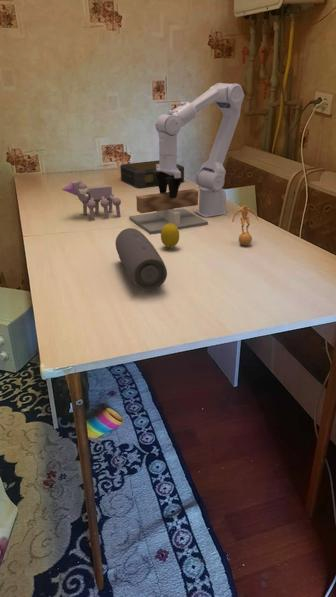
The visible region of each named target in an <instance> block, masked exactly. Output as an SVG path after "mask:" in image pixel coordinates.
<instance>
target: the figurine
mask: <svg viewBox="0 0 336 597" xmlns="http://www.w3.org/2000/svg"><path fill="white" fill-rule="evenodd" d="M249 212H251V213H253V215H254V216H255V218H256V220H257V221H259V217H258V215H257V213H256V211H255V210H254V209H251V208H250V207H248V205H246V204H245V205H242V206H241V207H240V208H239V209H237V210H235V211H234V212H233V216H232V219H231V222H232V223H235V222H234V221H235V217H236V214H237V213H241V217H240V222H241V223H240V224H241V233H240V234H239V237H238V242H239V244H240V245H242V246H243V247H244V246H249V245H250V244H251V243H252V241H253V237H252V235H251V233H250V232H249V229H248V228H249V226H250V225H251V222H250V217H249V216H248V214H249ZM245 223H246V224H247V225H246V227H245ZM244 227H245V229H246V232H245V229H244Z"/></svg>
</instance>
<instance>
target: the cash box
mask: <svg viewBox="0 0 336 597" xmlns="http://www.w3.org/2000/svg"><path fill="white" fill-rule="evenodd" d="M156 164H159V160H150V161H141V162H132V163H123V164H121V165H119V166H120V180H121V182H124V183H126V184H127V185H130V186H133V187H134V188H137V189H145V188H152V187H153V188H154V187H159V186H158V183H157V180H156V177H155V176H154V172H157V171H156ZM177 168H178V170H179V171H180V172H181V177H183V180H182V182H181V184H182V183H184V182H185V167H184V166H183V165H180V164H178V163H177ZM169 177H171V175H169ZM167 186H168V183H167Z"/></svg>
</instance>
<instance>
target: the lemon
mask: <svg viewBox="0 0 336 597" xmlns="http://www.w3.org/2000/svg"><path fill="white" fill-rule="evenodd" d="M179 230H180V229H179ZM179 230H178V228H177V226H175V225H174V224H172V223H169V224H166V225H165V226H164V227H163V228H162V231H161V233H160V241H161V243H162V244H163V245H164V246H165V247H167V248H168V249H172V248H173V247H175V246H177V244H178V243H179V240H180V231H179Z"/></svg>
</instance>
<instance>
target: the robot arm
mask: <svg viewBox="0 0 336 597" xmlns="http://www.w3.org/2000/svg"><path fill="white" fill-rule="evenodd" d="M244 97H245V92H244V90H243V87H242V86H241V84H239V83H222V82H217V83H215V84H214V85H211V86H210V88H209V89H208V90H207V91H205V92H203V93H202V94H201V95H199V96H198V97H197V98H195V99H194V100H193V101H191V102H189V101H181V102H179V106H178V105H177V107H175V108H174V109H169V111H168V113H167V114H164V113H162V114H161V115H159V117H158V118H157V119H156V123H155V124H154V126H155V130H156V132H157V133H158V146H159V150H158V152H159V153H158V155H159V156H158V157H159V164H156V171H157V172H154V176H155V177H156V180H157V183H158V186H157V187H158V190H159V193H166V192H169V196H170V198H171V199H172V198H176V197H177V193H178V191H179V188H180V186H181V184H182V183H183V182H182V180H183V177H181V172H180V171H179V170H178V168H177V164H178V161H177V159H178V158H177V156H178V155H177V154H178V153H177V150H178V135H177V134H179V132H180V130H181V128H182V127H184V126H185V125H186V124H188V123H189V122H191V121H193V120H194V119H195V118H196V115H197V113H198V112H200V111H201V110H203V109H205V108H206V107H208V106H210V105H211V104H213V103H215V105H216V106H217V108H218V109H219V110H220V111H221V114H222V119H221V121H220V125H219V128H218V130H217V133H216V136H215V139H214V141H213V145H212V148H211V150H210V153H209V157H208V160H206V161H205V162H204V163H202V164H201V167H200V169H199V170H198V171H197V173H196V176H195V182H196V184H197V185H198V189H199V193H198V209H196V210H194V211H193V212H194V213H196V214H198V215H200V216H202V217H204V218H209V217H216V216H221V215H227V212H226V208H227V207H226V205H227V193H226V191H225V190H224V189H223V187H224V185H225V178H226V173H227V172H226V168H225V167H224V165H223V164H224V163H225V160H226V156H227V153H228V151H229V148H230V145H231V142H232V140H233V137H234V134H235V131H236V128H237V125H238V122H239V120H240V118H241V116H240V115H241V108H242V104H243V102H244ZM169 175H171V177H169ZM181 182H182V183H181ZM167 183H168V185H167ZM167 190H168V191H167Z"/></svg>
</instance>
